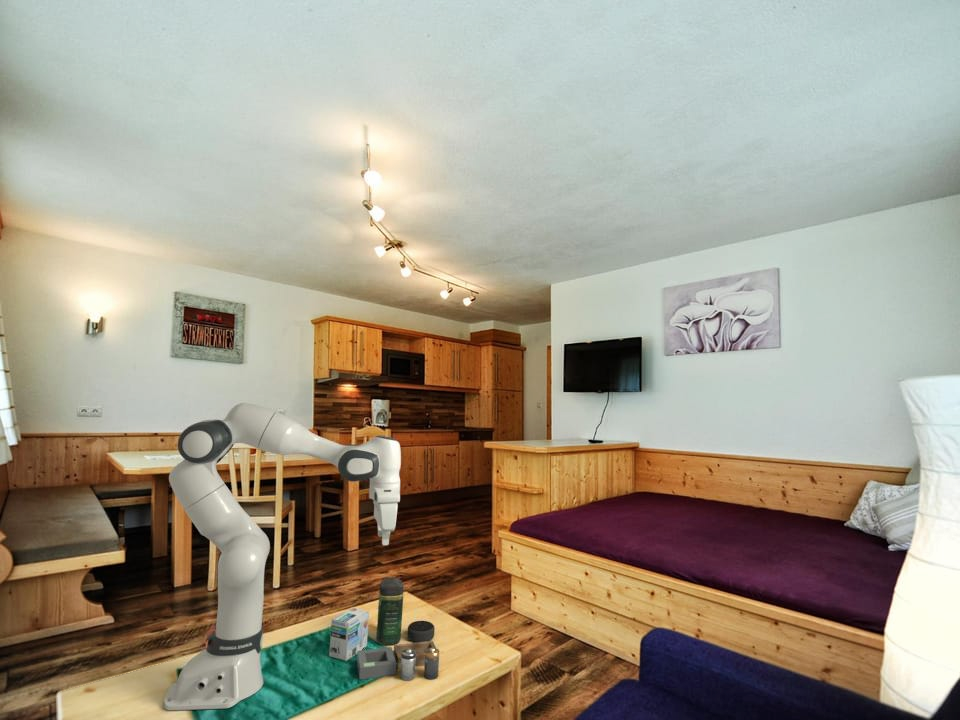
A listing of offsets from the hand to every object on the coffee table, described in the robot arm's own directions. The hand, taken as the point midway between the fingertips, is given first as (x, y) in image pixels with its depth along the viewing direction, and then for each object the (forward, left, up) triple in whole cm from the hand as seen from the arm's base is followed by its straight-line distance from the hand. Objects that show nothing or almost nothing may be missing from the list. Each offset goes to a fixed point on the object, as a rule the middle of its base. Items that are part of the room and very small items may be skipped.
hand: (383, 540), depth 140 cm
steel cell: (+9, -4, -37) cm, 38 cm away
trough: (+13, +5, -37) cm, 39 cm away
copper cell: (+15, -5, -37) cm, 40 cm away
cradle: (+1, +3, -37) cm, 37 cm away
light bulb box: (-6, +15, -37) cm, 40 cm away
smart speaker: (+17, +19, -37) cm, 45 cm away
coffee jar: (+7, +20, -37) cm, 42 cm away
